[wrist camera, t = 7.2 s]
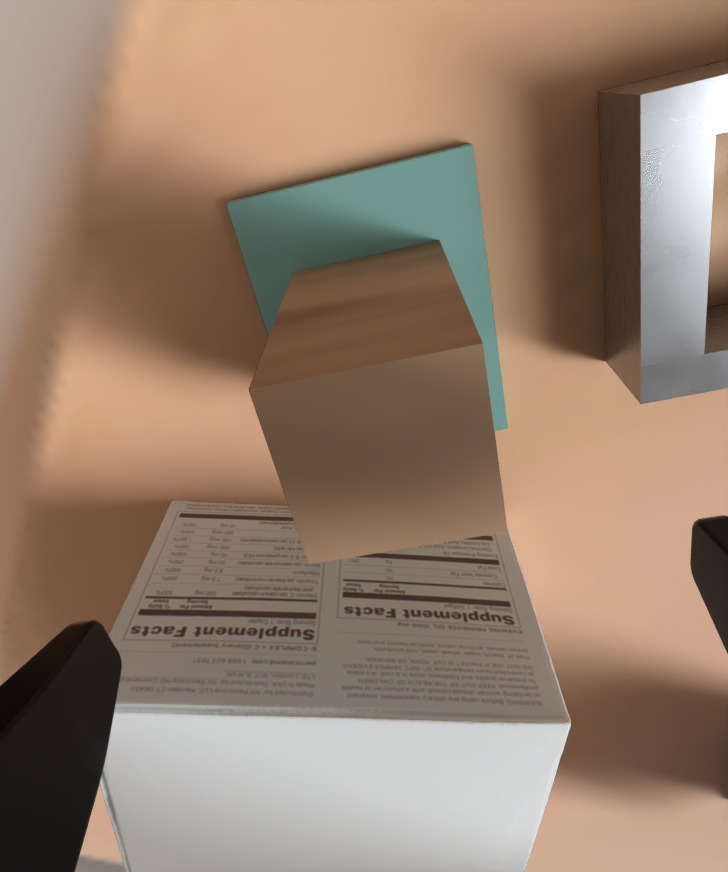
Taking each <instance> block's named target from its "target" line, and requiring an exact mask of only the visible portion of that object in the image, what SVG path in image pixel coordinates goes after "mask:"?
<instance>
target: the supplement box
mask: <svg viewBox="0 0 728 872" xmlns="http://www.w3.org/2000/svg"><path fill="white" fill-rule="evenodd" d="M506 524H507V523H506ZM109 637H110V639H111V640H112V642H113V643H114V645H115V647H116V648H117V650H118V652H119V654H120V657H121V661H122V670H121V676H120V682H119V688H118V693H117V699H116V705H115V710H114V716H113V722H112V727H111V733H110V739H109V744H108V750H107V755H106V759H105V764H104V768H103V772H102V776H101V780H100V786H101V789H102V793H103V798H104V802H105V805H106V808H107V811H108V814H109V816H110V820H111V823H112V826H113V829H114V833H115V836H116V839H117V842H118V846H119V849H120V852H121V856H122V859H123V862H124V865H125V868H126V872H524V871H525V868H526V865H527V862H528V859H529V855H530V852H531V849H532V846H533V843H534V840H535V837H536V834H537V831H538V828H539V824H540V821H541V818H542V815H543V812H544V809H545V806H546V803H547V800H548V797H549V793H550V790H551V787H552V784H553V781H554V778H555V775H556V772H557V768H558V765H559V761H560V758H561V755H562V752H563V749H564V746H565V742H566V739H567V736H568V733H569V730H570V727H571V719H570V717H569V714H568V711H567V708H566V705H565V702H564V699H563V695H562V692H561V689H560V686H559V683H558V679H557V676H556V673H555V670H554V667H553V664H552V661H551V658H550V655H549V652H548V649H547V645H546V642H545V639H544V636H543V633H542V630H541V627H540V623H539V620H538V617H537V614H536V611H535V609H534V605H533V602H532V599H531V596H530V593H529V590H528V587H527V583H526V580H525V577H524V574H523V571H522V568H521V565H520V562H519V559H518V556H517V553H516V550H515V546H514V543H513V541H512V538H511V535H510V532H509V529H508V526H507V532H504V533H498V534H492V535H485V536H479V537H473V538H467V539H461V540H455V541H449V542H443V543H436V544H430V545H424V546H418V547H412V548H406V549H400V550H394V551H387V552H381V553H375V554H369V555H363V556H357V557H351V558H345V559H339V560H332V561H326V562H320V563H314V564H309V563H308V560H307V558H306V555H305V552H304V549H303V546H302V543H301V540H300V537H299V534H298V531H297V529H296V526H295V523H294V520H293V517H292V514H291V511H290V508H289V506H288V505H262V504H239V503H215V502H193V501H183V500H173V501H172V502H171V503H170V506H169V508H168V510H167V512H166V515H165V517H164V519H163V521H162V523H161V525H160V528H159V530H158V532H157V534H156V536H155V538H154V540H153V542H152V545H151V547H150V549H149V551H148V553H147V555H146V557H145V559H144V562H143V564H142V566H141V568H140V570H139V572H138V574H137V576H136V579H135V581H134V583H133V585H132V587H131V589H130V591H129V593H128V595H127V598H126V600H125V602H124V604H123V606H122V608H121V610H120V612H119V615H118V617H117V619H116V621H115V623H114V625H113V627H112V629H111V631H110V634H109Z"/></svg>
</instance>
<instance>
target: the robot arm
mask: <svg viewBox="0 0 728 872" xmlns="http://www.w3.org/2000/svg"><path fill="white" fill-rule="evenodd" d="M690 564H691V571H692V575H693V578H694V580H695V583H696V585H697V587H698V589H699V592H700V594H701V596H702V598H703V600H704V603H705V605H706V607H707V609H708V611H709V614H710V616H711V618H712V620H713V622H714V625H715V627H716V629H717V631H718V634H719V636H720V638H721V640H722V642H723V645H724V647H725V649H726V651H727V653H728V516H715V517H709V518H703V519H698V520H697V521H695V522H694V524H693V527H692V542H691V561H690ZM121 670H122V661H121V657H120V654H119V652H118V650H117V648H116V647H115V645H114V643H113V642H112V640H111V639H110V637H109V635H108V634H107V632H106V631H105V629H104V627H103V626H102V624H101V623H99V622H98V621H96V620H90V621H84V622H78V623H73V624H71V625H69V626H67V627H66V628H65V629H64V630H63V631H62V632H60V633H59V634H58V635H57V636H56V637H55V638H54V639H53V640H51V641H50V642H49V643H48V644H47V645H46V646H45V647H44V648H43V649H41V650H40V651H39V652H38V653H37V654H36V655H35V656H34V657H32V658H31V659H30V660H29V661H28V662H27V663H26V664H25V665H23V666H22V667H21V668H20V669H19V670H18V671H17V672H16V673H15V674H13V675H12V676H11V677H10V678H9V679H8V680H7V681H6V682H4V683H3V684H2V685H1V686H0V872H75V869H76V866H77V862H78V859H79V855H80V851H81V848H82V844H83V841H84V837H85V834H86V830H87V827H88V823H89V819H90V816H91V812H92V809H93V805H94V802H95V798H96V794H97V791H98V787H99V784H100V780H101V776H102V772H103V768H104V764H105V759H106V755H107V750H108V744H109V739H110V733H111V727H112V722H113V716H114V710H115V705H116V699H117V693H118V688H119V682H120V676H121Z"/></svg>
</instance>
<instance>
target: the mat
mask: <svg viewBox="0 0 728 872" xmlns="http://www.w3.org/2000/svg"><path fill="white" fill-rule="evenodd" d="M226 205H227V208H228V211H229V215H230V218H231V221H232V224H233V227H234V230H235V233H236V237H237V240H238V243H239V246H240V249H241V252H242V255H243V259H244V262H245V265H246V268H247V271H248V274H249V277H250V281H251V284H252V287H253V290H254V293H255V296H256V299H257V303H258V306H259V309H260V312H261V315H262V318H263V321H264V325H265V328H266V331H267V334H268V337H269V335H270V332H271V329H272V327H273V324H274V321H275V319H276V316H277V313H278V311H279V308H280V306H281V303H282V300H283V298H284V295H285V292H286V290H287V287H288V284H289V282H290V279H291V276H292V274H293V272H295V271H300V270H304V269H309V268H313V267H318V266H323V265H327V264H332V263H336V262H341V261H345V260H350V259H355V258H359V257H364V256H368V255H373V254H377V253H382V252H387V251H391V250H396V249H400V248H405V247H409V246H414V245H419V244H423V243H428V242H432V241H437V240H440V243H441V245H442V247H443V250H444V252H445V255H446V257H447V259H448V262H449V264H450V266H451V269H452V271H453V274H454V276H455V278H456V281H457V283H458V285H459V288H460V290H461V293H462V295H463V297H464V300H465V302H466V304H467V307H468V309H469V312H470V314H471V316H472V319H473V321H474V324H475V326H476V328H477V331H478V333H479V335H480V338H481V340H482V343H483V348H484V356H485V364H486V371H487V379H488V386H489V394H490V402H491V409H492V417H493V425H494V431H496V430H501V429H507V428H508V426H507V418H506V410H505V402H504V394H503V386H502V378H501V370H500V362H499V354H498V346H497V338H496V330H495V322H494V314H493V305H492V297H491V289H490V281H489V273H488V265H487V257H486V249H485V241H484V233H483V225H482V217H481V209H480V201H479V193H478V185H477V177H476V169H475V161H474V153H473V145H472V144H470V143H469V144H464V145H460V146H456V147H452V148H448V149H444V150H440V151H435V152H431V153H427V154H423V155H419V156H415V157H410V158H406V159H402V160H398V161H394V162H390V163H386V164H381V165H377V166H373V167H369V168H365V169H361V170H356V171H352V172H348V173H344V174H340V175H336V176H332V177H327V178H323V179H319V180H315V181H311V182H307V183H303V184H298V185H294V186H290V187H286V188H282V189H278V190H273V191H269V192H265V193H261V194H257V195H253V196H249V197H244V198H240V199H236V200H232V201H229V202H228V203H227V204H226Z"/></svg>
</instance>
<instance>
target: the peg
mask: <svg viewBox="0 0 728 872" xmlns="http://www.w3.org/2000/svg"><path fill="white" fill-rule="evenodd" d="M249 392H250V395H251V398H252V401H253V404H254V407H255V410H256V413H257V416H258V419H259V421H260V424H261V427H262V430H263V433H264V436H265V439H266V442H267V445H268V448H269V450H270V453H271V456H272V459H273V462H274V465H275V468H276V471H277V474H278V476H279V479H280V482H281V485H282V488H283V491H284V494H285V497H286V500H287V503H288V505H289V508H290V511H291V514H292V517H293V520H294V523H295V526H296V529H297V531H298V534H299V537H300V540H301V543H302V546H303V549H304V552H305V555H306V558H307V560H308V563H309V564H314V563H320V562H326V561H332V560H339V559H345V558H351V557H357V556H363V555H369V554H375V553H381V552H387V551H394V550H400V549H406V548H412V547H418V546H424V545H430V544H436V543H443V542H449V541H455V540H461V539H467V538H473V537H479V536H485V535H492V534H498V533H504V532H507V524H506V516H505V509H504V501H503V494H502V486H501V478H500V471H499V463H498V455H497V448H496V440H495V432H494V425H493V417H492V409H491V402H490V394H489V386H488V379H487V371H486V364H485V356H484V348H483V343H482V340H481V338H480V335H479V333H478V331H477V328H476V326H475V324H474V321H473V319H472V316H471V314H470V312H469V309H468V307H467V304H466V302H465V300H464V297H463V295H462V293H461V290H460V288H459V285H458V283H457V281H456V278H455V276H454V274H453V271H452V269H451V266H450V264H449V262H448V259H447V257H446V255H445V252H444V250H443V247H442V245H441V243H440V240H437V241H432V242H428V243H423V244H419V245H414V246H409V247H405V248H400V249H396V250H391V251H387V252H382V253H377V254H373V255H368V256H364V257H359V258H355V259H350V260H345V261H341V262H336V263H332V264H327V265H323V266H318V267H313V268H309V269H304V270H300V271H295V272H293V274H292V276H291V279H290V282H289V284H288V287H287V290H286V292H285V295H284V298H283V300H282V303H281V306H280V308H279V311H278V313H277V316H276V319H275V321H274V324H273V327H272V329H271V332H270V335H269V337H268V340H267V342H266V345H265V348H264V350H263V353H262V356H261V358H260V361H259V364H258V366H257V369H256V372H255V374H254V377H253V379H252V382H251V385H250V387H249Z"/></svg>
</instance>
